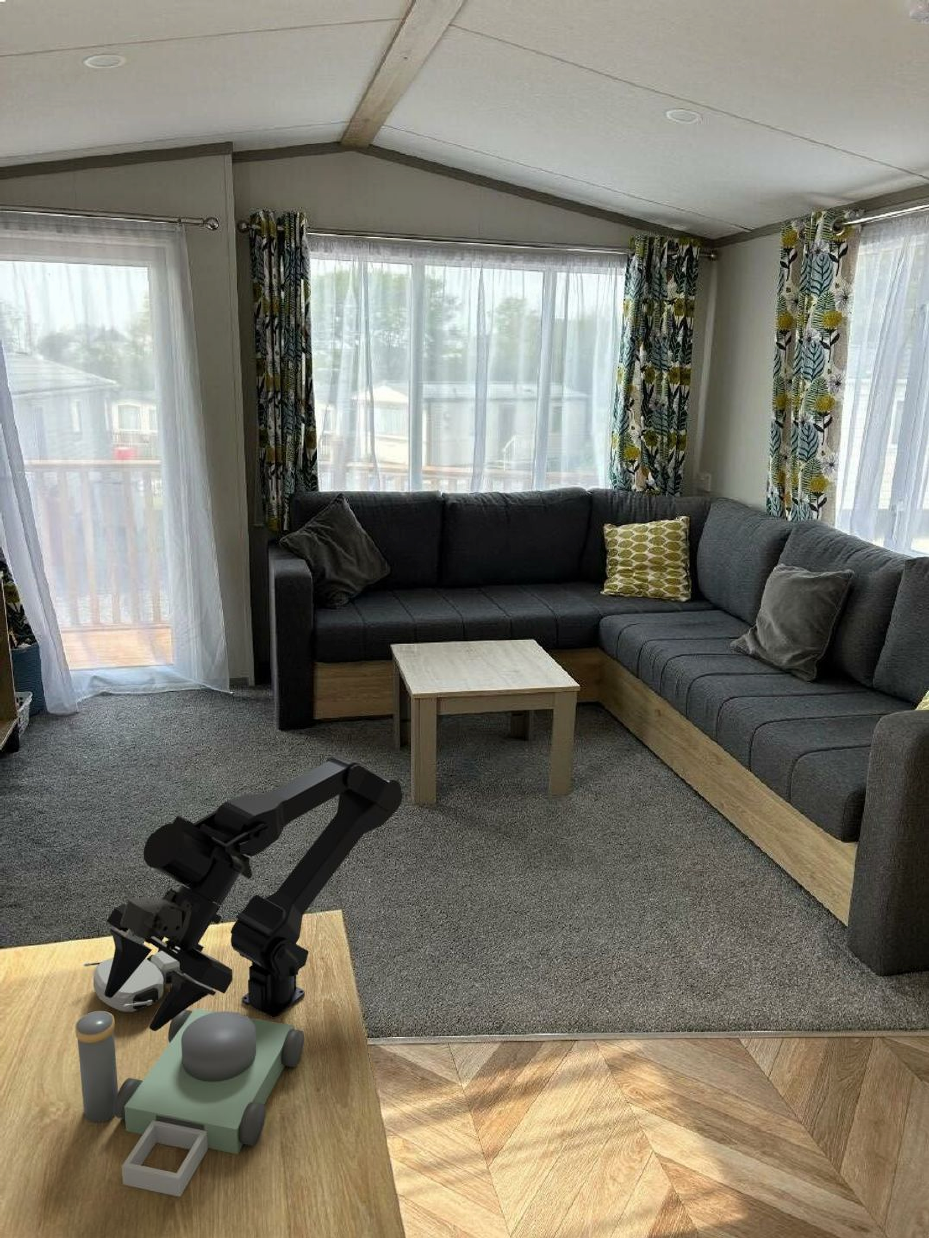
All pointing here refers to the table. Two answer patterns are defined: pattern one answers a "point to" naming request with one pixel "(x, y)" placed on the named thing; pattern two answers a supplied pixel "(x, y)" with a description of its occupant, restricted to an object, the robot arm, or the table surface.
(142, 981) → the robot toy
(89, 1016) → the grey banded cylinder
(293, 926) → the robot arm
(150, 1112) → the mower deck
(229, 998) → the table surface
